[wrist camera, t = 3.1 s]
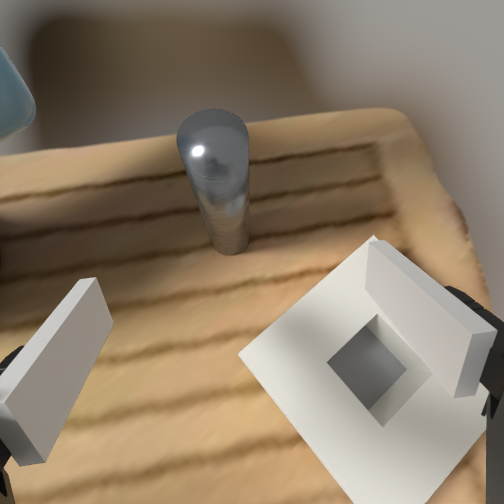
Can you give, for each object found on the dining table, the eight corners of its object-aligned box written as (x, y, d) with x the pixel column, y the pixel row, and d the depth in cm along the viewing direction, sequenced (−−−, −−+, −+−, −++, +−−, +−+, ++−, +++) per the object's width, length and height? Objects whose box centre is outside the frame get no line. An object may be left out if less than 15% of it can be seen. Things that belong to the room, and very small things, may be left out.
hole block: (239, 354, 27) (237, 354, 22) (354, 253, 30) (373, 235, 25) (360, 508, 23) (388, 547, 19) (476, 375, 27) (525, 380, 22)
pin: (203, 234, 31) (162, 133, 17) (233, 212, 32) (218, 98, 18) (227, 263, 30) (205, 181, 16) (257, 239, 31) (263, 141, 17)
